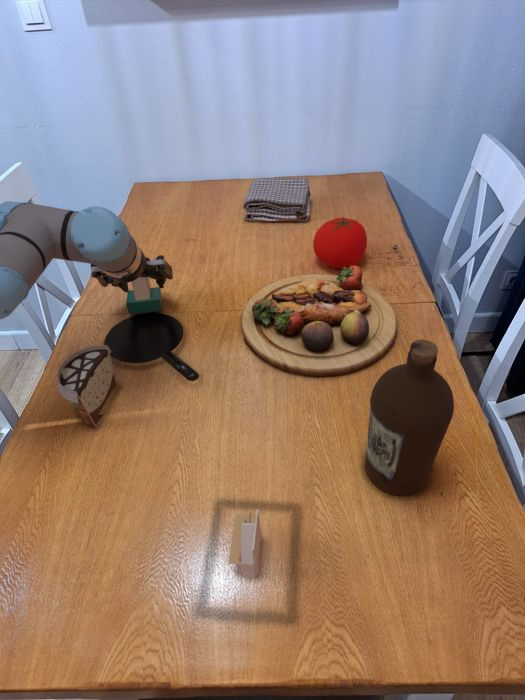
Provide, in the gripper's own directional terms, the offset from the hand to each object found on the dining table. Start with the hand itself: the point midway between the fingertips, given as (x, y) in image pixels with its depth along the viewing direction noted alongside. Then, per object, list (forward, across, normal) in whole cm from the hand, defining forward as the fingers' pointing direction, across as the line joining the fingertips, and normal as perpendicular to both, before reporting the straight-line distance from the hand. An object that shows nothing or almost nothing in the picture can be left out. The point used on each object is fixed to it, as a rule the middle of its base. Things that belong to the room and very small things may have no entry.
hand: (143, 284), depth 107 cm
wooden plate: (-7, +36, -14) cm, 39 cm away
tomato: (+10, +46, +2) cm, 47 cm away
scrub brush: (0, 0, -5) cm, 5 cm away
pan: (-9, +3, -16) cm, 18 cm away
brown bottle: (-33, +40, -40) cm, 65 cm away
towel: (+31, +36, +23) cm, 53 cm away
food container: (-17, -9, -25) cm, 32 cm away
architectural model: (-40, +16, -48) cm, 64 cm away
